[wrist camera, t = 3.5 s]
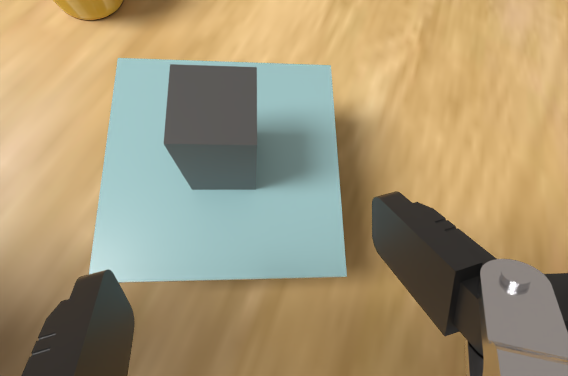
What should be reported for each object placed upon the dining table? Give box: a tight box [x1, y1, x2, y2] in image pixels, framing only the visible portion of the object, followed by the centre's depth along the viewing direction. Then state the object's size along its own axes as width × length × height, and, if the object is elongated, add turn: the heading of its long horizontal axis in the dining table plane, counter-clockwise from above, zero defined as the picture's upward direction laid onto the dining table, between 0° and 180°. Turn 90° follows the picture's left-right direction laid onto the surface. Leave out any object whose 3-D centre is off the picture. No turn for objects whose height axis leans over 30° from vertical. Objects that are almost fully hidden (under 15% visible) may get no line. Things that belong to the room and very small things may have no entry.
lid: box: [89, 58, 347, 283], centre depth 19 cm, size 15×15×9 cm
